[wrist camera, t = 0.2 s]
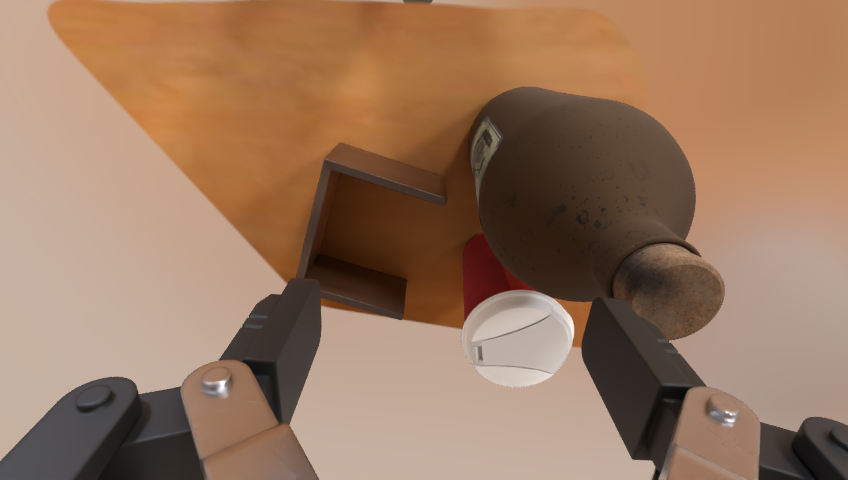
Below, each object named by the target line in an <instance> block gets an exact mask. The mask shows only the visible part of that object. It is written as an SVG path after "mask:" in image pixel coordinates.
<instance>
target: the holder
mask: <svg viewBox="0 0 848 480" xmlns="http://www.w3.org/2000/svg"><path fill="white" fill-rule="evenodd" d="M340 173H342V174H345V175H348V176H352V177H355V178H358V179H361V180H364V181H367V182H370V183H373V184H376V185H379V186H383V187H386V188H389V189H392V190H395V191H398V192H401V193H404V194H407V195H410V196H414V197H417V198H420V199H423V200H426V201H429V202H432V203H435V204H438V205H441V206H445V204H446V202H447V192H446V183H445V177H443V176H440V175H437V174H434V173H431V172H428V171H425V170H422V169H419V168H416V167H413V166H410V165H407V164H404V163H401V162H398V161H395V160H392V159H389V158H386V157H383V156H380V155H377V154H374V153H371V152H368V151H364V150H361V149H358V148H355V147H352V146H349V145H346V144H343V143H339V144H338V145H337V146H336V147H335V148H334V149H333V150H332V151H331V152H330V154H329V155H328V156H327V157H326V158H325V159H324V162H323V166H322V170H321V175H320V179H319V183H318V187H317V191H316V195H315V200H314V204H313V208H312V212H311V216H310V220H309V225H308V229H307V233H306V237H305V241H304V245H303V250H302V254H301V258H300V262H299V266H298V270H297V275H296V278H297V279H314V280H318V281H319V285H320V297H321V298H324V299H328V300H331V301H335V302H338V303H342V304H345V305H349V306H353V307H356V308H360V309H363V310H367V311H370V312H374V313H377V314H381V315H384V316H388V317H391V318H395V319H398V320H402V318H403V315H404V307H405V296H406V286H407V280H404V279H401V278H398V277H394V276H391V275H388V274H384V273H381V272H377V271H374V270H371V269H367V268H364V267H361V266H357V265H354V264H350V263H347V262H344V261H340V260H337V259H334V258H330V257H327V256H323V255H320V254H319V252H320V249H321V245H322V241H323V237H324V233H325V229H326V225H327V222H328V218H329V214H330V210H331V206H332V202H333V198H334V195H335V191H336V187H337V183H338V179H339V175H340Z"/></svg>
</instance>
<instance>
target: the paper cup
mask: <svg viewBox="0 0 848 480" xmlns="http://www.w3.org/2000/svg"><path fill="white" fill-rule="evenodd" d="M463 288H464V313H465V323H464V326H463V329H462V335H461V343H462V348H463V351H464V354H465V356H466V358H467V359H468V361H469V362H470V363H471V364H472V365H473V366H474V367H475V369H476V370H477V371H478V372H479V373H480V374H481V375H482V376H483V377H484V378H486V379H487V380H489V381H491V382H493V383H495V384H498V385H501V386H506V387H525V386H531V385H534V384H538V383H540V382H542V381H544V380H546V379H548V378H550V377H551V376H552V375H553V374H554V373H555V372H556V371H557V370H558V369H559V368H560V367H561V365H562V364H563V363H564V361H565V359H566V357H567V355H568V352H569V351H570V349H571V347H572V340H573V338H574V324H573V321H572V318H571V316H570V315H569V314H568V313H567V312H566V311H565V309H564V308H563V307H562V306H561V305H560V304H559V303H558V302H557V301H556V300H554V299H553V298H552V297H550V296H547V295H545V294H542V293H540V292H538V291H536V290H534V289H532V288H530V287H529V286H527V285H526V284H524V283H523V282H521V281H520V280H519V279H517V278H516V277H515V276H514V275H512V274H511V273H510V272H509V271H508V270H507V269H506V268H505V267H504V266H503V265H502V264H501V263H500V261H499V260H498V259H497V257H496V256H495V254H494V253H493V251H492V250H491V248H490V246H489V244H488V242H487V240H486V238H485V235H484V232H481V233H479V234H477V235H476V236H474V237H473V238H472V239H471V240H470V241H469V242H468V244H467V245H466V247H465V250H464V254H463Z"/></svg>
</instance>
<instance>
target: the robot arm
mask: <svg viewBox="0 0 848 480" xmlns="http://www.w3.org/2000/svg"><path fill="white" fill-rule="evenodd" d="M320 337H321V304H320V285H319V281H318V280H314V279H297V278H292V279H290V281H289V282H288V284H287V286H286V287H285V289H284V291H283V292H282V294H281V295H277V294H271V295H269V296H268V297H266V298H265V299H263V300H262V301H260V302H259V303H257V304H256V306H255V307H254V309H253V310H252V312H251V313H250V315H249V318H247V319H246V321H245V322H244V324H243V326H242V328H240V330H239V331H238V333H237V334H236V336H235V337H234V338H233V340H232V342H231V343H230V344H229V346H228V348H227V349H226V350H225V352H224V353H223V355H222V356H221V358H220V359H219V361H215V362H212V363H209V364H206V365H204V366H202V367H200V368H198V369H196V370H195V371H193V372H192V373H191V374H190V375H189V376H188V377H187V378H186V379H185V380H184V382H183V384H182V386H180V387H177V388H172V389H167V390H161V391H155V392H149V393H143V394H138V390H137V386H136V384H135V383H134V382H133V381H132V380H129V379H127V378H123V377H108V378H102V379H98V380H95V381H91V382H89V383H86V384H84V385H81V386H79V387H77V388H75V389H74V390H72V391H71V392H69V393H68V394H66V395H65V396H64V397H62V398H61V399H60V400H59V401H58V402H57V403H56V404H55V405H54V406H53V407H52V408H51V409H50V410H49V411H48V412H47V413H46V415H45V416H44V417H43V418H42V419H41V420H40V421H39V422H38V423H37V424H36V425H35V426H34V427H33V428H32V429H31V430H30V431H29V432H28V433H27V434H26V435H25V436H24V437H23V438H22V439H21V440H20V441H19V442H18V444H16V446H15V447H14V448H13V449H12V450H11V451H10V452H9V453H8V454H7V455H6V456H5V457H4V458H3V459H2V460H1V461H0V480H319V478H318V477H317V475H316V473H315V471H314V469H313V467H312V465H311V464H310V462H309V460H308V458H307V456H306V455H305V453H304V451H303V449H302V447H301V445H300V444H299V442H298V440H297V438H296V436H295V434H294V433H293V431H292V429H291V427H290V426H289V424H290V421H291V419H292V416H293V413H294V411H295V408H296V406H297V403H298V400H299V397H300V395H301V391H302V389H303V387H304V384H305V381H306V379H307V376H308V373H309V370H310V368H311V365H312V362H313V360H314V357H315V354H316V351H317V349H318V346H319V342H320ZM582 357H583V361H584V363H585V365H586V367H587V369H588V371H589V373H590V375H591V377H592V379H593V381H594V384H595V386H596V387H597V390H598V391H599V394H600V396H601V397H602V400H603V402H604V404H605V406H606V408H607V409H608V412H609V414H610V416H611V417H612V420H613V422H614V423H615V426H616V428H617V430H618V432H619V434H620V436H621V438H622V440H623V442H624V444H625V446H626V448H627V450H628V452H629V454H630V456H631V458H632V459H634V460H652V461H653V463H654V465H655V466H656V467H655V470H654V472H653V474H652V477H651V480H848V426H847V425H845V424H843V423H840V422H837V421H834V420H831V419H827V418H822V417H809V418H807V419H805V420H804V422H803V423H802V425H801V426H800V428H799V430H798V432H794V431H790V430H787V429H783V428H780V427H776V426H772V425H768V424H765V423H761V422H760V421H759V419H758V417H757V416H756V414H755V413H754V412H753V411H752V410H751V409H750V408H749V407H748V406H747V405H746V404H744V403H743V402H742V401H740V400H739V399H737V398H736V397H734V396H732V395H730V394H728V393H726V392H723V391H721V390H718V389H714V388H710V387H707V386H706V385H705V384H704V382H703V381H702V380H701V379H700V378H699V376H698V375H697V374H696V373H695V371H694V370H693V369H692V368H691V367H690V366H689V364H688V363H687V362H686V361H685V359H684V358H683V357H682V356H681V355H680V354H678V351H677V350H676V348H675V347H674V346H673V345H672V344H671V343H669V340H668V339H667V338H666V336H665V335H664V334H663V333H662V332H661V330H660V329H659V328H658V327H656V326H655V325H654V324H652V323H651V322H649V321H648V320H646V319H645V318H644V317H639V316H638V315H637V314H636V312H635V311H634V310H633V309H632V307H631V306H630V305H629V304H628V302H627V301H626V300H625V299H621V298H605V297H596V298H595V299H594V301H593V303H592V306H591V309H590V313H589V317H588V321H587V324H586V328H585V332H584V336H583V339H582Z"/></svg>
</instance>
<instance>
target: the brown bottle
mask: <svg viewBox="0 0 848 480" xmlns="http://www.w3.org/2000/svg"><path fill="white" fill-rule="evenodd" d="M468 152H469V159H470V163H471V168H472V173H473V178H474V183H475V189H476V195H477V202H478V209H479V216H480V221H481V226H482V229H483V232H484V235H485V238H486V240H487V242H488V244H489V246H490V248H491V250H492V251H493V253H494V254H495V256H496V257H497V259H498V260H499V261H500V263H501V264H502V265H503V266H504V267H505V268H506V269H507V270H508V271H509V272H510V273H511V274H512V275H514V276H515V277H516V278H517V279H519V280H520V281H521V282H523V283H524V284H526V285H527V286H529V287H530V288H532V289H534V290H536V291H538V292H540V293H542V294H545V295H547V296H550V297H553V298H557V299H561V300H567V301H575V302H590V301H594V299H595V298H596V297H605V298H621V299H625V300H626V301H627V302H628V304H629V305H630V306H631V307H632V309H633V310H634V311H635V312H636V314H637V315H638V316H639V317H644V318H645V319H646V320H648V321H649V322H651V323H652V324H654V325H655V326H656V327H658V328H659V329H660V330H661V332H662V333H663V334H664V335H665V336H666V338H667V339H668V340H675V339H679V338H683V337H686V336H688V335H691V334H693V333H695V332H697V331H698V330H700V329H701V328H703V327H704V326H705V325H706V324H708V323H709V322H710V321H711V320H712V319H713V318H714V317H715V315H716V314H717V312H718V311H719V309H720V307H721V305H722V303H723V300H724V295H725V288H724V282H723V279H722V277H721V276H720V274H719V273H718V271H717V270H716V269H715V268H714V267H713V266H712V265H710V264H709V263H708V262H706V261H705V260H704V259H702V258H701V255H700V254H699V252H698V251H697V250H696V249H695V248H694V247H693V246H692V245H691V244H689V243H687V242H686V241H685V239H686V237H687V235H688V233H689V230H690V227H691V224H692V220H693V217H694V211H695V202H696V194H695V183H694V178H693V174H692V171H691V168H690V165H689V163H688V160H687V159H686V157H685V155H684V153H683V151H682V149H681V148H680V146H679V145H678V144H677V142H676V140H675V139H674V138H673V137H672V135H671V134H670V133H669V132H668V131H667V130H666V129H665V128H664V127H663V126H662V125H661V124H660V123H659V122H658V121H657V120H655V119H654V118H652V117H651V116H649V115H648V114H646V113H645V112H643V111H641V110H639V109H637V108H635V107H632V106H630V105H627V104H624V103H621V102H617V101H613V100H607V99H600V98H593V97H585V96H578V95H572V94H566V93H560V92H555V91H550V90H546V89H542V88H537V87H521V88H515V89H512V90H509V91H506V92H504V93H502V94H500V95H498V96H497V97H495V98H494V99H492V100H491V101H490V102H489V103H488V104H487V105H486V106H485V107H484V108H483V109H482V110H481V112H480V113H479V114H478V116H477V118H476V119H475V121H474V123H473V126H472V128H471V131H470V135H469V142H468Z"/></svg>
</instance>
